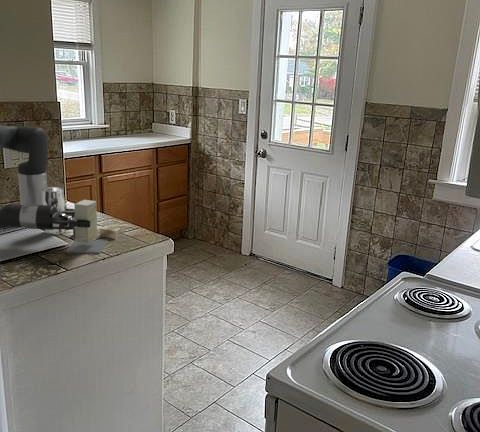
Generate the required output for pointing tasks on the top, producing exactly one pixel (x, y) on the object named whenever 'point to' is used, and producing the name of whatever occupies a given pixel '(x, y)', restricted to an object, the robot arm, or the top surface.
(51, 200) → the beer glass
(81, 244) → the slate coaster
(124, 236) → the top surface
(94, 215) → the skincare box
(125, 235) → the top surface
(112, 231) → the beech brick
